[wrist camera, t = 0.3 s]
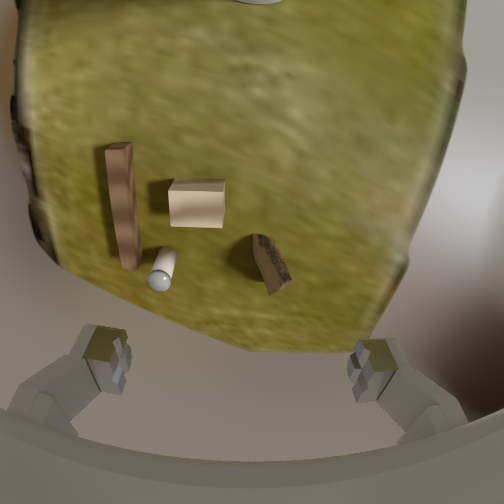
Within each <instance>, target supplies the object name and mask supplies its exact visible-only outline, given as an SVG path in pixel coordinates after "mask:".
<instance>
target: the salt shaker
mask: <svg viewBox="0 0 504 504" xmlns="http://www.w3.org/2000/svg"><path fill="white" fill-rule="evenodd" d="M177 256H178V254H177V251H176V250H175V249H174V248H173V247H170V246H163V247H161V248H160V250H159V252H158V255H157V257H156V260H155V263H154V265H153V268H152V271H151V273H150V274H149V277H148V284H149V286H150V287H151V288H153V289H154V290H157V291H165V290H167V289H168V288H169V286H170V283H171V277H172V273H173V270H174V266H175V263H176V260H177Z"/></svg>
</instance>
